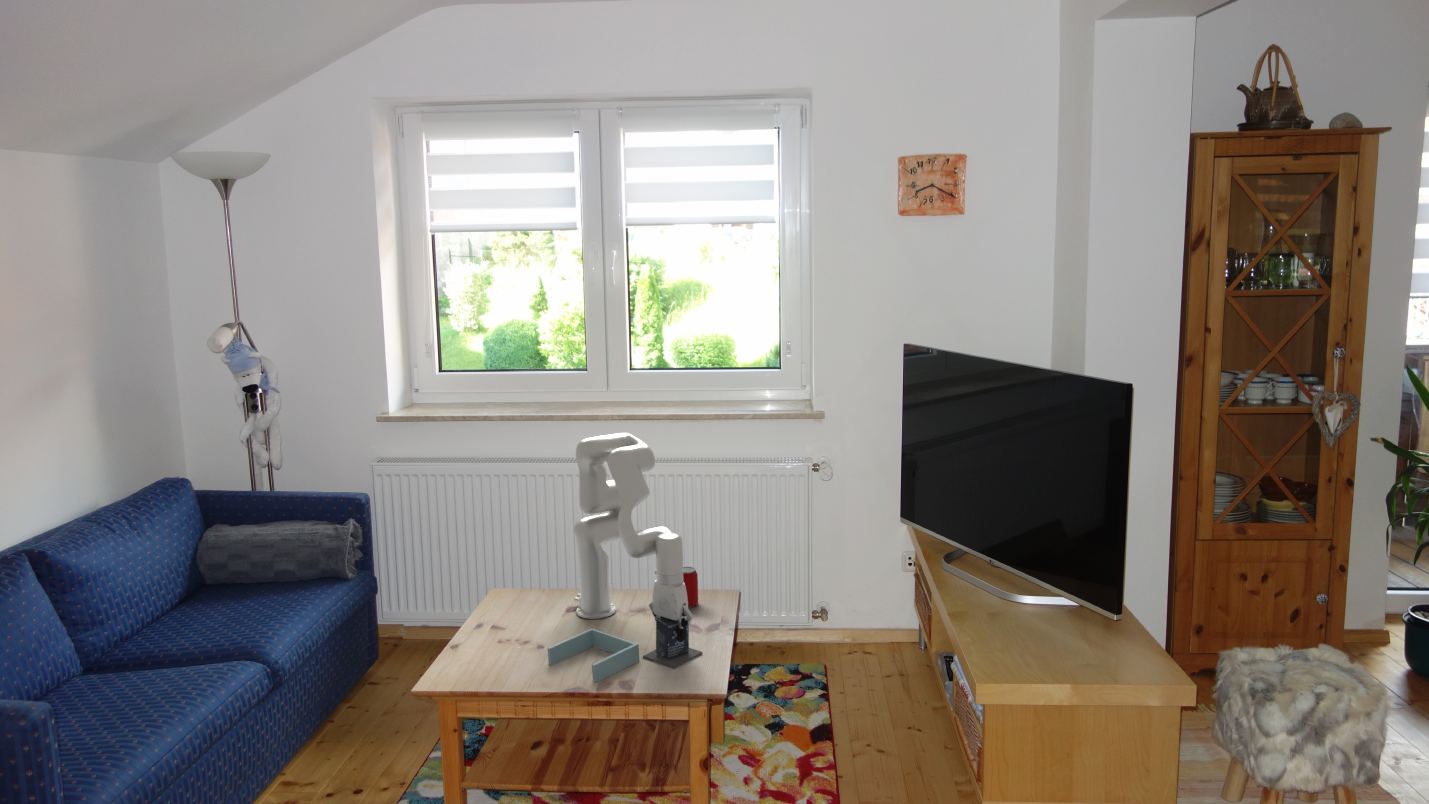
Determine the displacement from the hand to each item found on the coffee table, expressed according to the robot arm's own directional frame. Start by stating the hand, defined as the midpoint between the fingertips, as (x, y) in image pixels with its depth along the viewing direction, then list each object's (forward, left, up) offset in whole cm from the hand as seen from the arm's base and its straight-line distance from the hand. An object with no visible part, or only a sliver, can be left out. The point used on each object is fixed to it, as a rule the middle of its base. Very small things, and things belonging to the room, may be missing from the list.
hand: (671, 636), depth 266 cm
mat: (0, 0, -6) cm, 6 cm away
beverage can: (-22, +32, -6) cm, 39 cm away
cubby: (-15, -17, -6) cm, 23 cm away
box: (0, 0, -5) cm, 5 cm away
